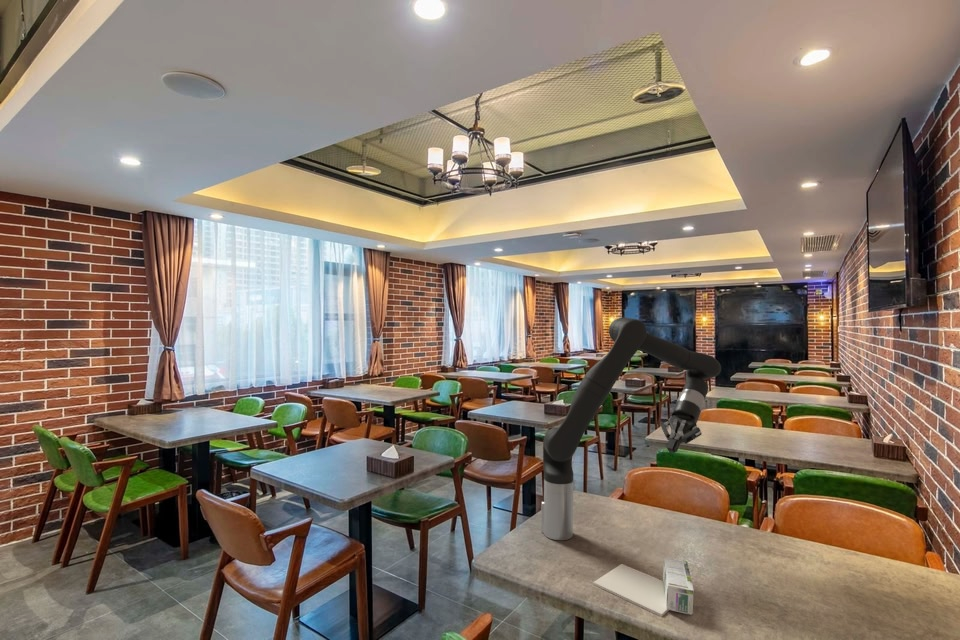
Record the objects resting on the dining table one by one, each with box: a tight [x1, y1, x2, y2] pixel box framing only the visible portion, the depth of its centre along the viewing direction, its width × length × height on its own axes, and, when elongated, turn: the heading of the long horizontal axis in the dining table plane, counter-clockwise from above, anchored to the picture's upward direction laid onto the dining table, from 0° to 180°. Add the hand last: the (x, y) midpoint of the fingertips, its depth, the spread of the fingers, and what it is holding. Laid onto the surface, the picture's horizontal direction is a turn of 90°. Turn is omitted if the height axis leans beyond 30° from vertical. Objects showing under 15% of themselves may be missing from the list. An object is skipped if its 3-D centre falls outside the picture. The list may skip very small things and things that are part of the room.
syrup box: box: [662, 557, 695, 616], centre depth 112 cm, size 6×6×14 cm
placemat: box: [592, 563, 670, 618], centre depth 116 cm, size 18×14×1 cm
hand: (670, 451), depth 138 cm, fingers closed
